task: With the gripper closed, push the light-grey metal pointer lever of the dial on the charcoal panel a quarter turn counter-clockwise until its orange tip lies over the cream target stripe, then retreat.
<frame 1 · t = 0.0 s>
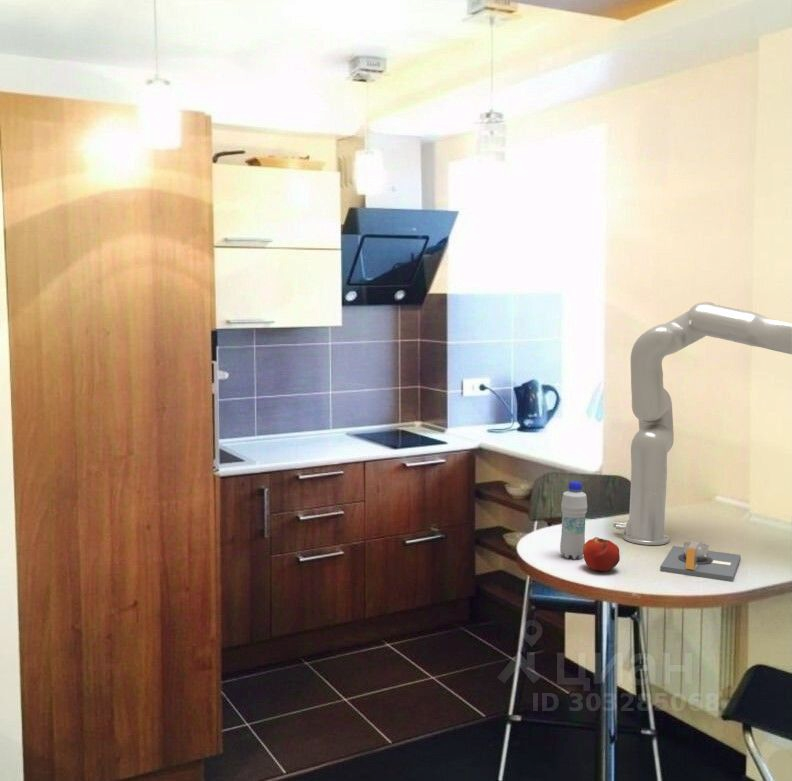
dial: (694, 552, 230), point 4 cm above the table, hinge at 0.0°
tomato: (600, 570, 228), on the table
panel: (701, 565, 233), on the table
bottle: (572, 557, 238), on the table
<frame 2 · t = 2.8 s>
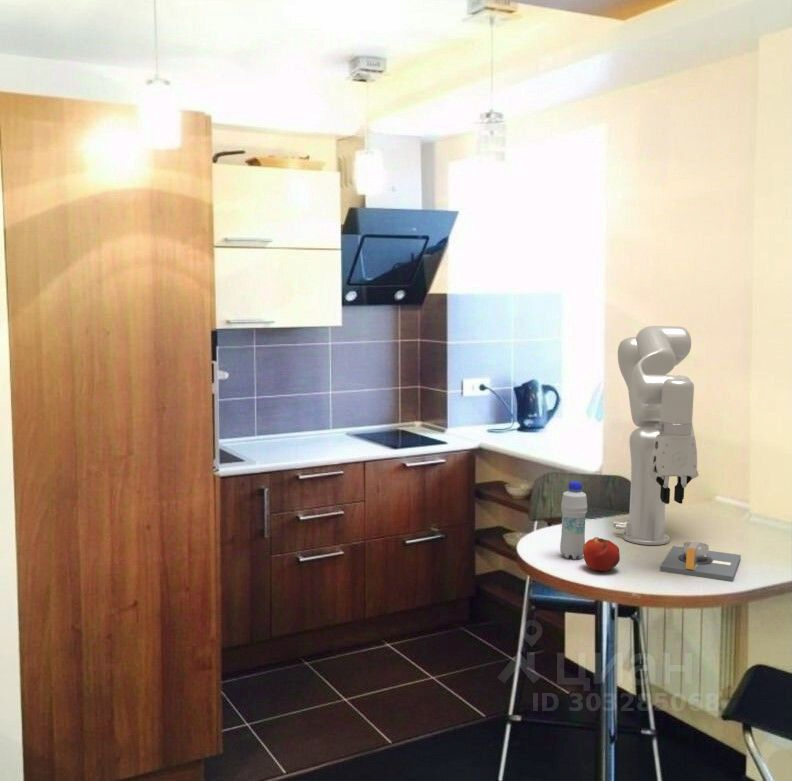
hand: (671, 501, 227), 17 cm above the table, fingers closed
nothing on the table moved.
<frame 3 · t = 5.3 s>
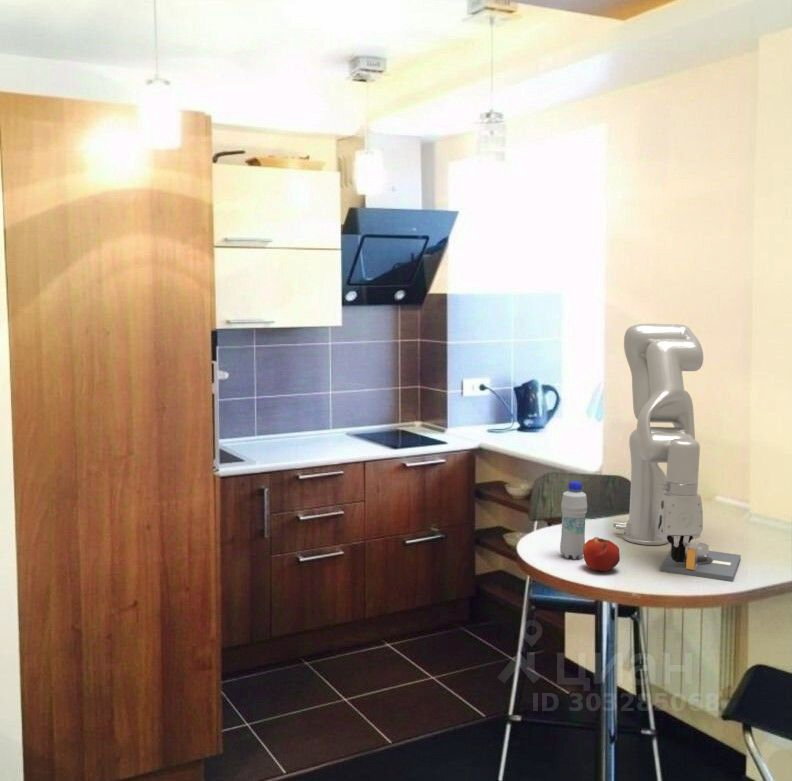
hand: (677, 560, 229), 2 cm above the table, fingers closed
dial: (694, 552, 230), point 4 cm above the table, hinge at 0.6°, touching gripper
everything else where it was.
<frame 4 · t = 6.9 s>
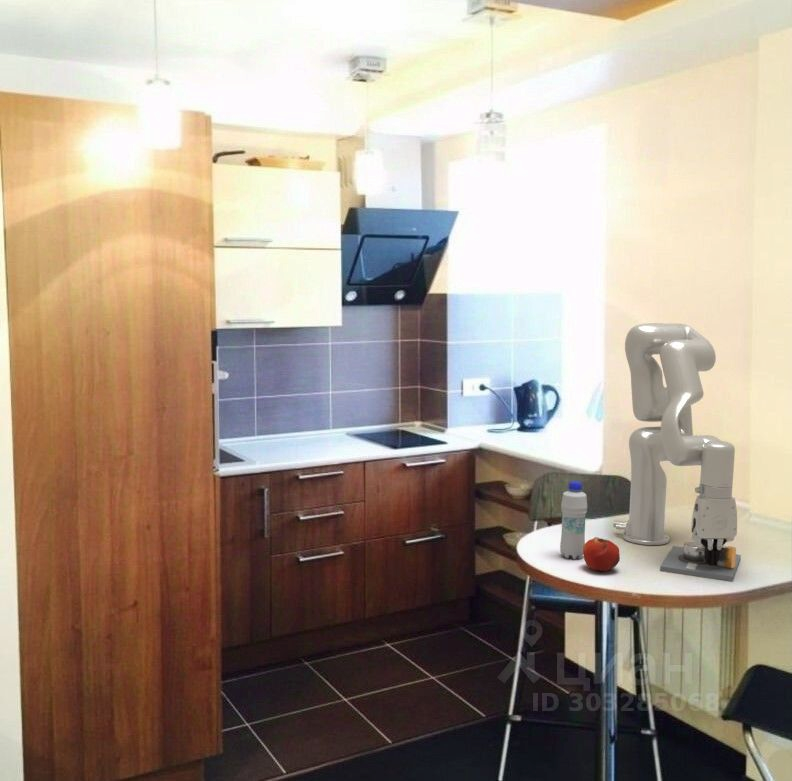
hand: (711, 564, 227), 2 cm above the table, fingers closed
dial: (708, 552, 231), point 4 cm above the table, hinge at 69.6°, touching gripper
everything else where it was.
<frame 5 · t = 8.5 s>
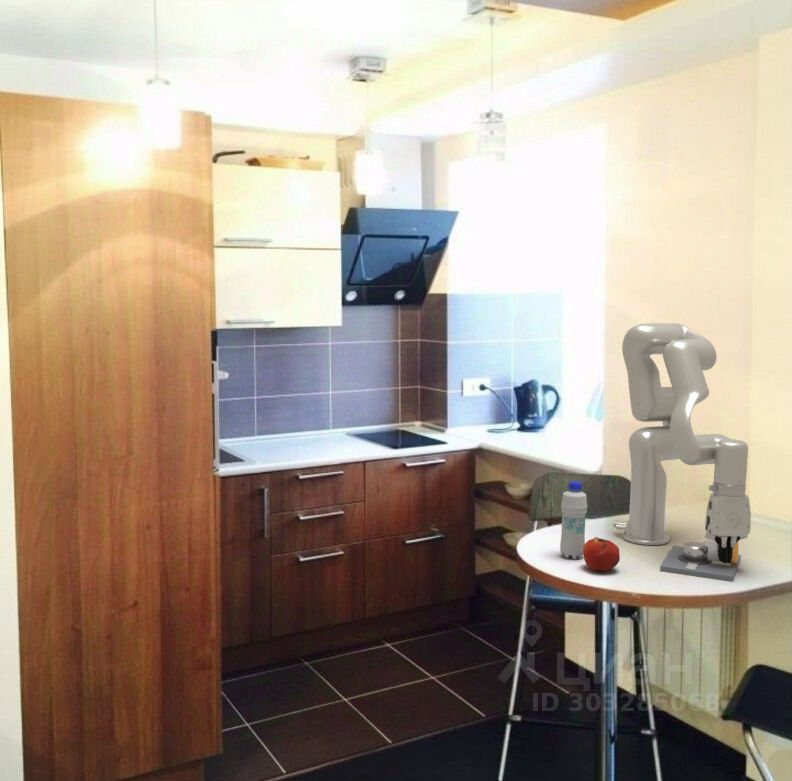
hand: (724, 561, 229), 2 cm above the table, fingers closed
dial: (710, 550, 232), point 4 cm above the table, hinge at 99.4°, touching gripper
everything else where it was.
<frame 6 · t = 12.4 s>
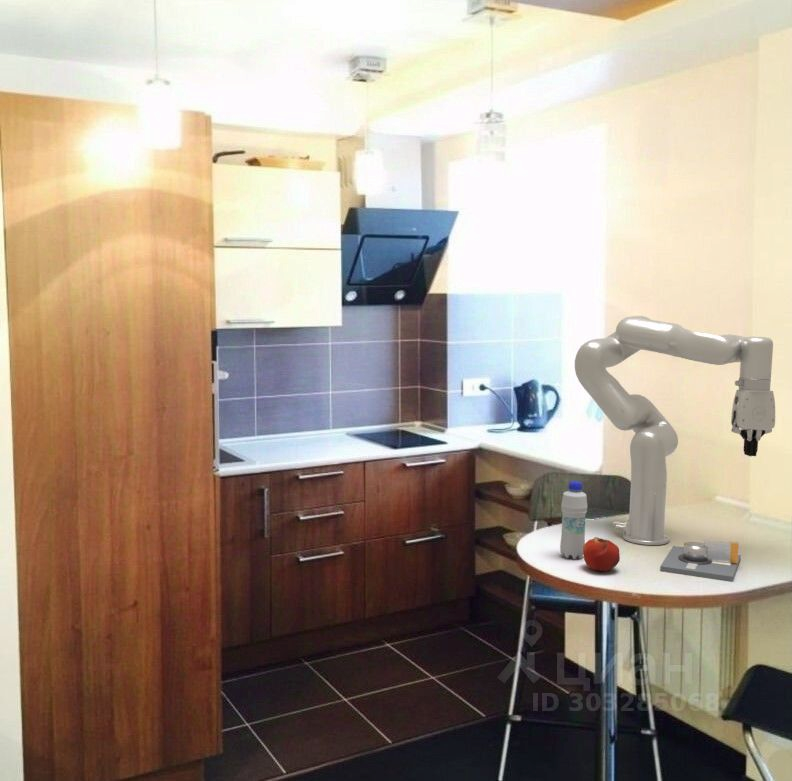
hand: (750, 455, 238), 27 cm above the table, fingers closed
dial: (710, 550, 232), point 4 cm above the table, hinge at 99.4°
everything else where it was.
at the end: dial at +99° (first picture: +0°) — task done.
